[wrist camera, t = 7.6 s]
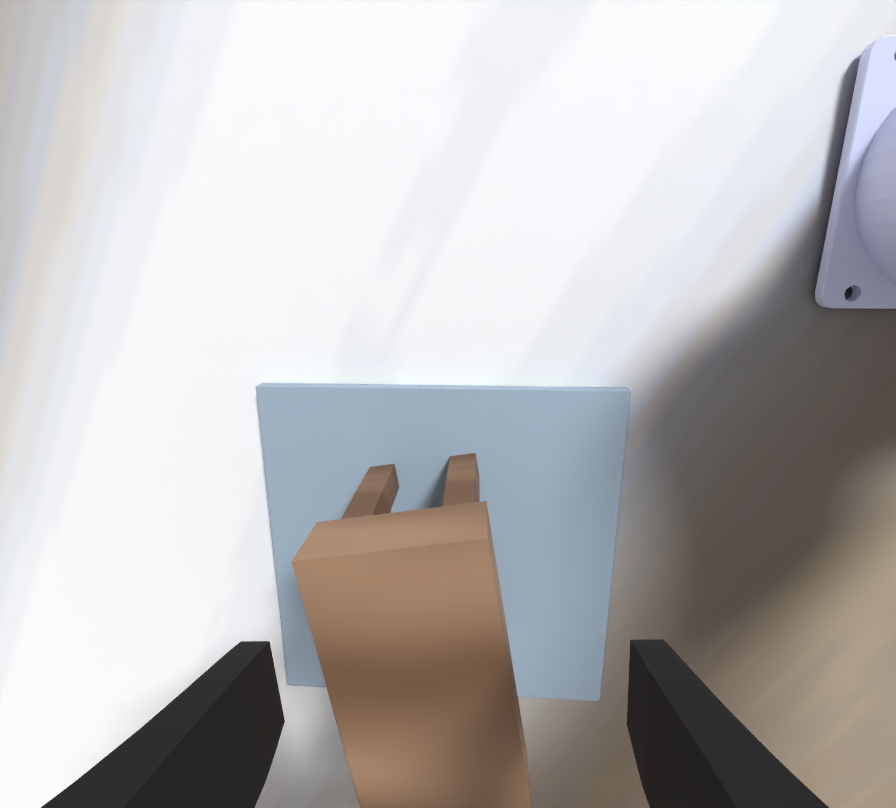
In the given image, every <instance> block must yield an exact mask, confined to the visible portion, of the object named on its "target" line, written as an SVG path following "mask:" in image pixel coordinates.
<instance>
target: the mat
mask: <svg viewBox="0 0 896 808" xmlns="http://www.w3.org/2000/svg"><path fill="white" fill-rule="evenodd" d="M256 393H257V402H258V412H259V421H260V430H261V440H262V449H263V458H264V468H265V477H266V486H267V496H268V505H269V514H270V524H271V533H272V542H273V552H274V561H275V570H276V580H277V589H278V598H279V608H280V617H281V626H282V636H283V645H284V654H285V664H286V673H287V682H288V685H293V686H312V687H327V686H326V683H325V679H324V676H323V672H322V668H321V665H320V661H319V658H318V654H317V651H316V647H315V643H314V640H313V636H312V633H311V629H310V626H309V622H308V618H307V615H306V611H305V608H304V604H303V601H302V597H301V593H300V590H299V586H298V583H297V579H296V576H295V572H294V568H293V565H292V560H293V558H294V557H295V555H296V554H297V552H298V550H299V549H300V547H301V546H302V544H303V543H304V541H305V540H306V538H307V537H308V535H309V533H310V532H311V530H312V529H313V527H314V526H315V524H316V523H317V522H322V521H330V520H338V519H341V518H342V516H343V514H344V512H345V510H346V509H347V507H348V505H349V503H350V501H351V500H352V498H353V496H354V494H355V493H356V491H357V489H358V487H359V485H360V484H361V482H362V480H363V478H364V477H365V475H366V473H367V471H368V469H369V468H370V467H373V466H381V465H388V464H395V468H396V473H397V478H398V482H399V489H398V492H397V495H396V498H395V500H394V503H393V506H392V508H391V512H392V513H394V512H402V511H410V510H419V509H427V508H435V507H442V504H443V498H444V491H445V485H446V478H447V472H448V466H449V459H450V456H455V455H463V454H470V453H476V458H477V464H478V471H479V485H480V502H483V501H486V502H487V508H488V514H489V521H490V527H491V533H492V539H493V546H494V552H495V558H496V564H497V571H498V577H499V583H500V589H501V596H502V602H503V608H504V614H505V621H506V627H507V633H508V639H509V646H510V652H511V658H512V664H513V671H514V677H515V683H516V689H517V696H518V697H529V698H549V699H568V700H588V701H600V691H601V681H602V671H603V661H604V651H605V641H606V631H607V621H608V611H609V601H610V591H611V581H612V571H613V561H614V551H615V541H616V531H617V521H618V511H619V502H620V492H621V482H622V472H623V462H624V452H625V442H626V432H627V422H628V412H629V402H630V391H629V390H628V389H627V388H603V387H526V386H449V385H373V384H296V383H262V384H260V385H258V386H256Z"/></svg>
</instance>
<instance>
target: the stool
mask: <svg viewBox="0 0 896 808" xmlns="http://www.w3.org/2000/svg"><path fill="white" fill-rule="evenodd" d="M398 489H399V482H398V478H397V473H396V468H395V464H388V465H381V466H373V467H370V468H369V469H368V471H367V473H366V475H365V477H364V478H363V480H362V482H361V484H360V485H359V487H358V489H357V491H356V493H355V494H354V496H353V498H352V500H351V501H350V503H349V505H348V507H347V509H346V510H345V512H344V514H343V516H342V518H341V519H338V520H330V521H322V522H317V523H316V524H315V526H314V527H313V529H312V530H311V532H310V533H309V535H308V537H307V538H306V540H305V541H304V543H303V544H302V546H301V547H300V549H299V550H298V552H297V554H296V555H295V557H294V558H293V560H292V565H293V568H294V572H295V576H296V579H297V583H298V586H299V590H300V593H301V597H302V601H303V604H304V608H305V611H306V615H307V618H308V622H309V626H310V629H311V633H312V636H313V640H314V643H315V647H316V651H317V654H318V658H319V661H320V665H321V668H322V672H323V676H324V679H325V683H326V686H327V690H328V694H329V697H330V701H331V704H332V708H333V711H334V715H335V719H336V722H337V726H338V729H339V733H340V736H341V740H342V744H343V747H344V751H345V754H346V758H347V761H348V765H349V769H350V772H351V776H352V779H353V783H354V786H355V790H356V794H357V797H358V801H359V804H360V808H532V804H531V794H530V784H529V774H528V764H527V754H526V746H525V739H524V733H523V727H522V721H521V714H520V708H519V702H518V696H517V689H516V683H515V677H514V671H513V664H512V658H511V652H510V646H509V639H508V633H507V627H506V621H505V614H504V608H503V602H502V596H501V589H500V583H499V577H498V571H497V564H496V558H495V552H494V546H493V539H492V533H491V527H490V521H489V514H488V508H487V502H486V501H483V502H480V485H479V471H478V464H477V458H476V453H470V454H463V455H455V456H450V459H449V466H448V472H447V478H446V485H445V491H444V498H443V504H442V507H435V508H427V509H419V510H410V511H402V512H394V513H392V512H391V508H392V506H393V503H394V500H395V498H396V495H397V492H398Z"/></svg>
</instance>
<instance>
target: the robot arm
mask: <svg viewBox="0 0 896 808" xmlns="http://www.w3.org/2000/svg"><path fill="white" fill-rule="evenodd" d="M895 51H896V35H888V36H884V37H881V38H879V39H877V40H876V41H874V42H872V43H871V44H869V45H868V46H867V47H866V48H865V50H864V51H863V52H862V55H861V58H860V61H859V66H858V72H857V77H856V82H855V87H854V92H853V98H852V103H851V108H850V113H849V118H848V124H847V129H846V134H845V139H844V144H843V150H842V155H841V160H840V165H839V170H838V176H837V181H836V186H835V191H834V196H833V202H832V207H831V212H830V217H829V222H828V228H827V233H826V238H825V243H824V248H823V254H822V259H821V264H820V269H819V274H818V280H817V285H816V290H815V300H816V302H817V304H819V305H820V306H821V307H826V308H877V309H896V60H895V59H894V53H895ZM849 287H851V288H852V295H851V297H850V298H849V299H847V300H846V298H845V294H844V293H845V291H846V289H847V288H849ZM284 722H285V721H284V715H283V710H282V705H281V700H280V694H279V689H278V684H277V679H276V673H275V668H274V663H273V657H272V652H271V647H270V642H269V641H253V642H240V643H239V644H237V645H236V646H235V647H234V648H233V649H231V650H230V651H229V652H228V653H227V654H225V655H224V656H223V657H222V658H221V659H220V660H219V661H217V662H216V663H215V664H214V665H213V666H212V667H211V668H209V669H208V670H207V671H206V672H205V673H204V674H203V675H201V676H200V677H199V678H198V679H197V680H196V681H195V682H194V683H192V684H191V685H190V686H189V687H188V688H187V689H186V690H184V691H183V692H182V693H181V694H180V695H179V696H178V697H176V698H175V699H174V700H173V701H172V702H171V703H169V704H168V705H167V706H166V707H165V708H164V709H163V710H161V711H160V712H159V713H158V714H157V715H156V716H154V717H153V718H152V719H151V720H150V721H149V722H148V723H146V724H145V725H144V726H143V727H142V728H141V729H139V730H138V731H137V732H136V733H134V734H133V735H132V736H131V737H130V738H128V739H127V740H126V741H125V742H123V743H122V744H121V745H120V746H118V747H117V748H116V749H115V750H114V751H112V752H111V753H110V754H109V755H107V756H106V757H105V758H104V759H102V760H101V761H100V762H99V763H98V764H96V765H95V766H94V767H93V768H91V769H90V770H89V771H88V772H86V773H85V774H84V775H83V776H81V777H80V778H79V779H78V780H76V781H75V782H74V783H73V784H71V785H70V786H69V787H67V788H66V789H65V790H64V791H62V792H61V793H60V794H58V795H57V796H56V797H54V798H53V799H52V800H50V801H49V802H48V803H46V804H45V805H44V806H42V807H41V808H254V807H255V805H256V803H257V800H258V798H259V796H260V793H261V791H262V788H263V786H264V784H265V781H266V779H267V776H268V773H269V770H270V767H271V764H272V761H273V758H274V754H275V751H276V748H277V745H278V741H279V738H280V735H281V732H282V728H283V725H284ZM627 726H628V730H629V735H630V739H631V743H632V747H633V751H634V755H635V759H636V763H637V767H638V771H639V774H640V778H641V782H642V786H643V789H644V792H645V795H646V798H647V801H648V803H649V806H650V808H829V807H828V806H827V805H825V804H824V803H823V802H822V801H821V800H820V799H819V798H818V797H817V796H816V795H815V794H814V793H813V792H811V791H810V790H809V789H808V788H807V787H806V786H805V785H804V784H803V783H802V782H801V781H800V780H799V779H798V778H797V777H795V776H794V775H793V774H792V773H791V772H790V771H789V770H788V769H787V768H786V767H785V766H784V765H783V764H782V763H781V762H780V761H779V760H778V759H777V758H776V757H775V756H774V755H773V754H772V753H771V752H770V751H769V750H768V749H767V748H766V747H765V746H764V745H763V744H762V743H761V742H760V741H759V740H758V739H757V738H756V737H755V736H754V735H753V734H752V733H751V732H750V731H749V730H748V729H747V728H746V727H745V726H744V725H743V724H742V723H741V722H740V721H739V720H738V719H737V718H736V717H735V716H734V715H733V714H732V713H731V712H730V711H729V710H728V709H727V708H726V707H725V706H724V704H723V703H722V702H721V701H720V700H719V699H718V698H717V697H716V696H715V695H714V694H713V693H712V692H711V691H710V690H709V688H708V687H707V686H706V685H705V684H704V683H703V682H702V681H701V680H700V679H699V678H698V677H697V675H696V674H695V673H694V672H693V671H692V670H691V669H690V668H689V667H688V666H687V664H686V663H685V662H684V661H683V660H682V659H681V658H680V657H679V656H678V655H677V653H676V652H675V651H674V650H673V649H672V648H671V647H670V646H669V645H668V644H667V643H666V642H665V641H664V640H630V664H629V688H628V712H627Z"/></svg>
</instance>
